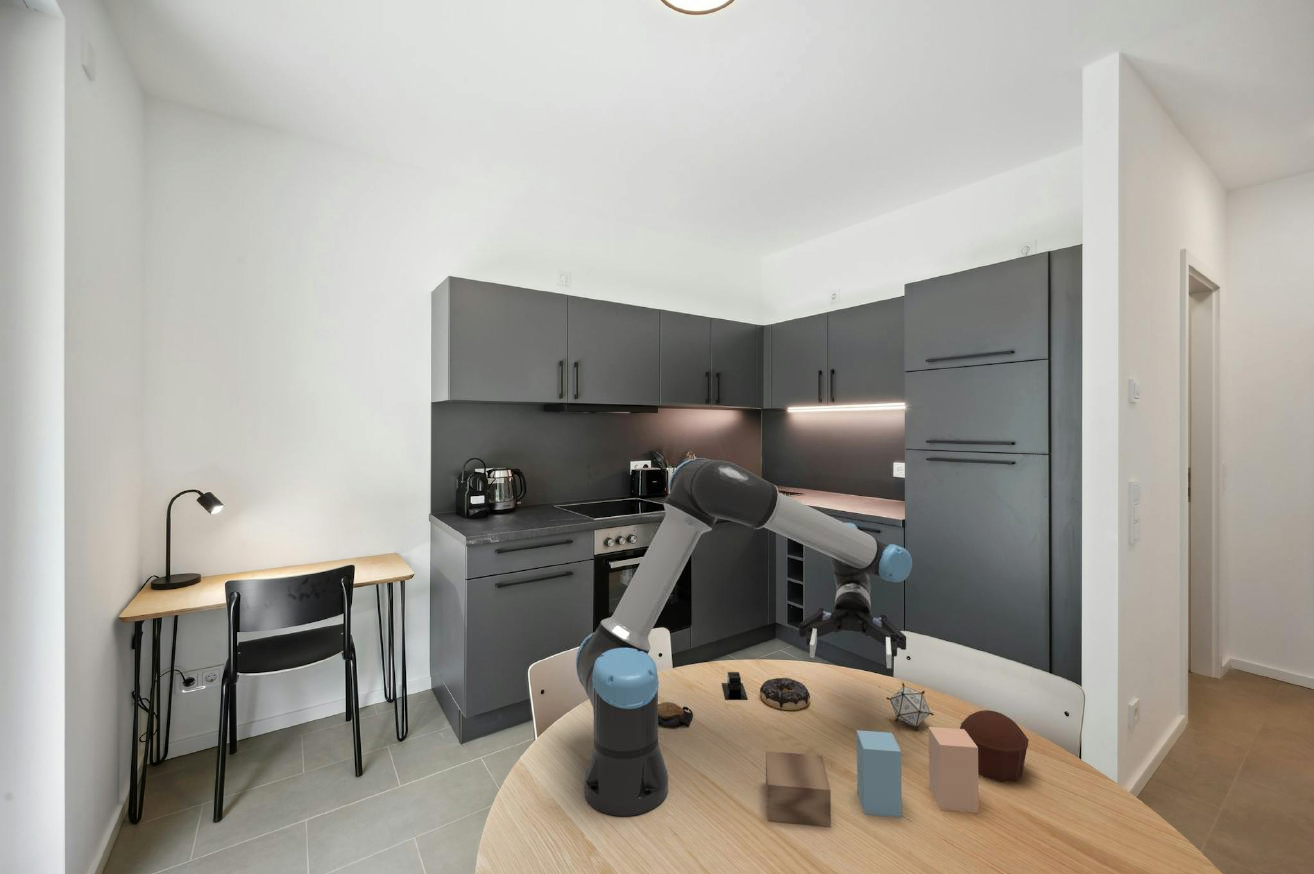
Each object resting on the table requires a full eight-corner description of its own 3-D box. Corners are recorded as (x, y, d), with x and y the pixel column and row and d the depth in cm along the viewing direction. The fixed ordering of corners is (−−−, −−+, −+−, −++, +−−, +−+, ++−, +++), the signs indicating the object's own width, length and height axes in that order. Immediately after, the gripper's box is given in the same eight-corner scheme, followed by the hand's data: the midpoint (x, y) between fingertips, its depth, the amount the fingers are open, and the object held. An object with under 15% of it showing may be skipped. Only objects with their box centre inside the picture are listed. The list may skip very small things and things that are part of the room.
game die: (919, 741, 123) (950, 710, 121) (898, 738, 119) (929, 706, 116) (892, 705, 131) (920, 675, 128) (871, 701, 126) (900, 671, 124)
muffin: (965, 745, 115) (964, 696, 115) (1029, 763, 109) (1029, 711, 109) (956, 773, 105) (956, 720, 105) (1027, 795, 99) (1026, 738, 99)
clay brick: (940, 809, 95) (939, 744, 95) (929, 787, 101) (928, 726, 101) (978, 813, 94) (978, 747, 94) (964, 790, 100) (964, 729, 100)
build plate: (752, 705, 134) (751, 686, 134) (721, 705, 134) (721, 686, 134) (744, 682, 147) (744, 664, 147) (716, 682, 147) (716, 664, 147)
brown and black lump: (641, 729, 124) (641, 712, 124) (649, 710, 132) (648, 694, 132) (690, 732, 122) (689, 715, 122) (694, 713, 130) (693, 697, 130)
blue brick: (864, 814, 94) (863, 748, 94) (857, 791, 100) (856, 730, 100) (901, 817, 93) (901, 751, 93) (892, 794, 99) (892, 732, 99)
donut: (778, 686, 143) (778, 670, 143) (819, 702, 134) (819, 685, 134) (751, 700, 136) (751, 684, 136) (793, 718, 127) (793, 700, 127)
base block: (768, 820, 93) (767, 784, 93) (766, 783, 103) (765, 751, 103) (830, 826, 91) (830, 789, 91) (822, 788, 101) (822, 755, 101)
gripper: (794, 585, 128) (781, 629, 108) (914, 596, 119) (923, 646, 100) (795, 616, 129) (782, 665, 110) (914, 629, 120) (923, 685, 101)
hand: (849, 656), depth 105 cm, fingers open, 13 cm apart
